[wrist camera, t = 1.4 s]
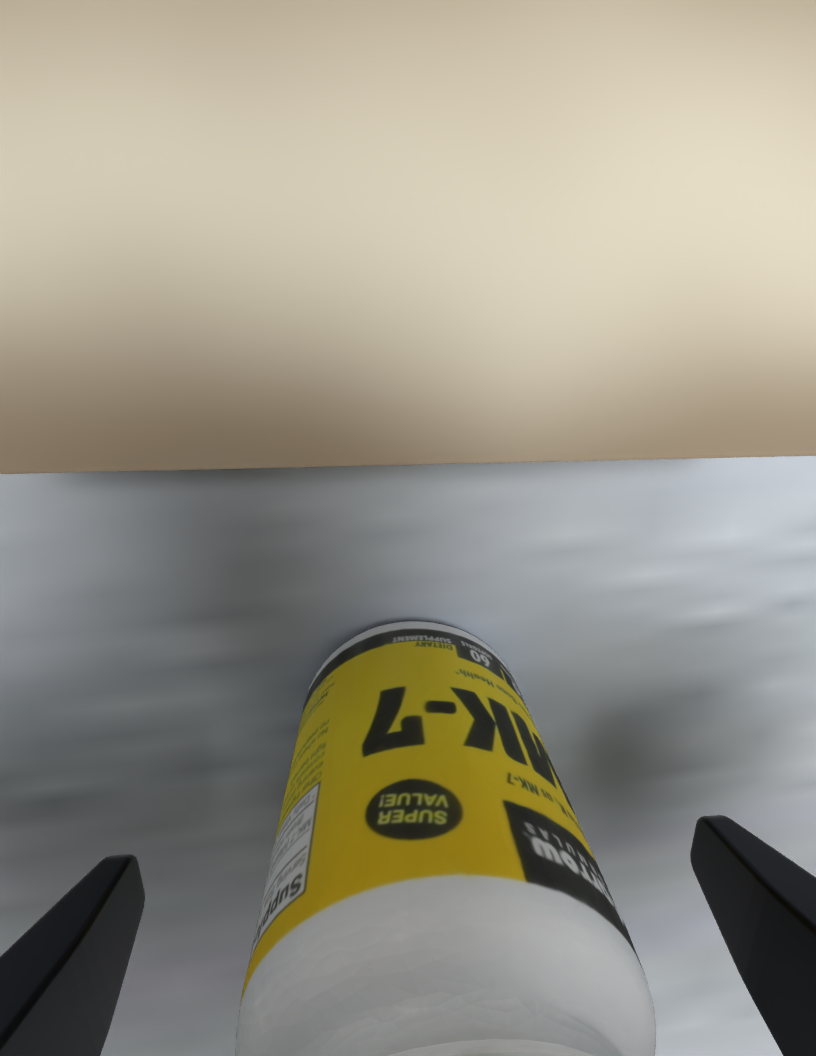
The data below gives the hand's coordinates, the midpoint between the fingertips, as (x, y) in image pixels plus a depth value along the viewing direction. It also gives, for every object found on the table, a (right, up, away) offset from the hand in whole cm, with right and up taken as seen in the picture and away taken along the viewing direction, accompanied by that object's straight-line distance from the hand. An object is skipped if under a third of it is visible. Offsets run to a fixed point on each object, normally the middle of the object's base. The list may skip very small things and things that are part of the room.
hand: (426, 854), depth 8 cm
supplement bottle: (0, +1, +3) cm, 4 cm away
